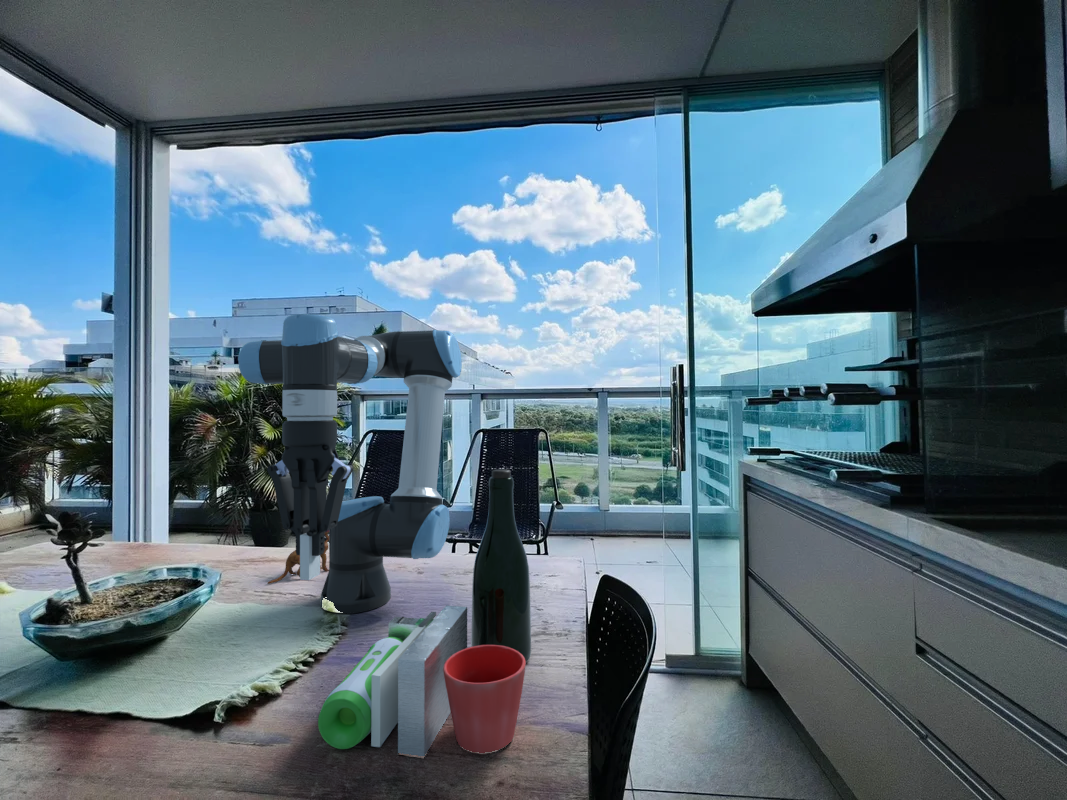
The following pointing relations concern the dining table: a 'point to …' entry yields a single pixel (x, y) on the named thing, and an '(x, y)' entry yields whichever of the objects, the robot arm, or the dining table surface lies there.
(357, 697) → the speaker
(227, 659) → the dining table surface
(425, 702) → the frame
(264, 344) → the robot arm
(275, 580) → the cat figurine
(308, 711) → the dining table surface
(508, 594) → the beer bottle
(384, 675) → the plate
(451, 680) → the flower pot
